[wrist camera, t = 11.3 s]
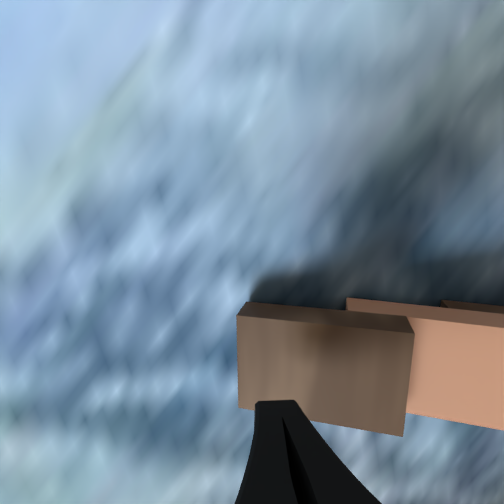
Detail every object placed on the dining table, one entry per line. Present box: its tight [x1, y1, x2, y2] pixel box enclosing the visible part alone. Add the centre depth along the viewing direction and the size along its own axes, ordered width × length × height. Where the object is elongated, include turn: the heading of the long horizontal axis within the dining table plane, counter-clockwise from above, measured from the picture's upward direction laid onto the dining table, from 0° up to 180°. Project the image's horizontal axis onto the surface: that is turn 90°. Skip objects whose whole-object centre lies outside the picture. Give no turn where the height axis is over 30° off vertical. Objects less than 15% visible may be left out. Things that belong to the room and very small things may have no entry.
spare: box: [345, 297, 504, 430], centre depth 14 cm, size 2×5×7 cm
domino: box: [236, 302, 415, 437], centre depth 14 cm, size 2×5×7 cm
